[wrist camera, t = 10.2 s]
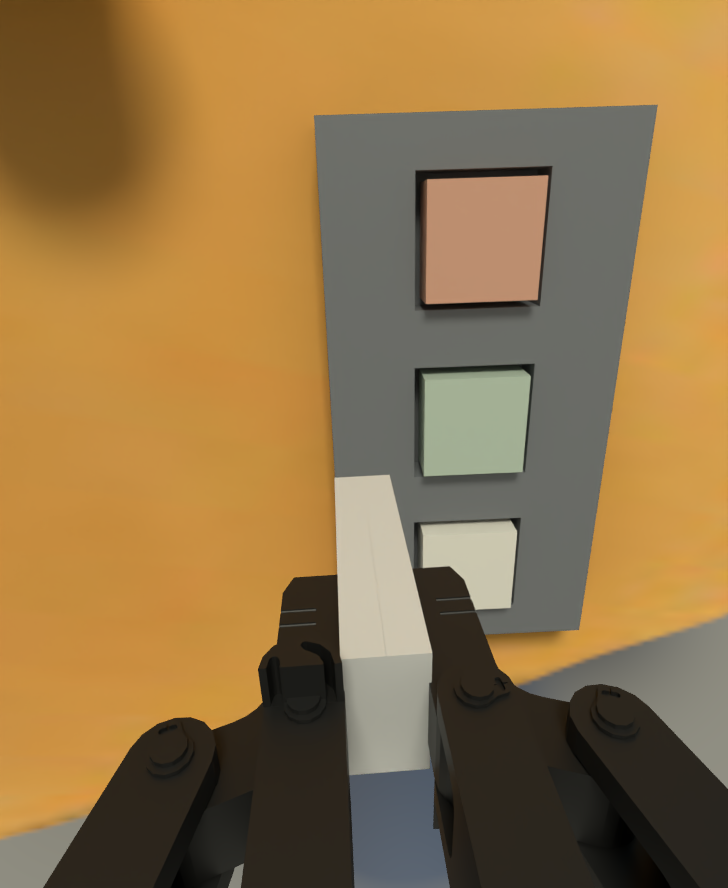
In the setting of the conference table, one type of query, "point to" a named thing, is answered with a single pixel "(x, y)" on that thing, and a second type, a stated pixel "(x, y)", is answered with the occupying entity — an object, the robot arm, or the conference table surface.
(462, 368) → the sage button
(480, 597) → the cream button
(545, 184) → the terracotta button
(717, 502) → the conference table surface
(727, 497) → the conference table surface
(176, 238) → the conference table surface
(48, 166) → the conference table surface
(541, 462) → the button board
